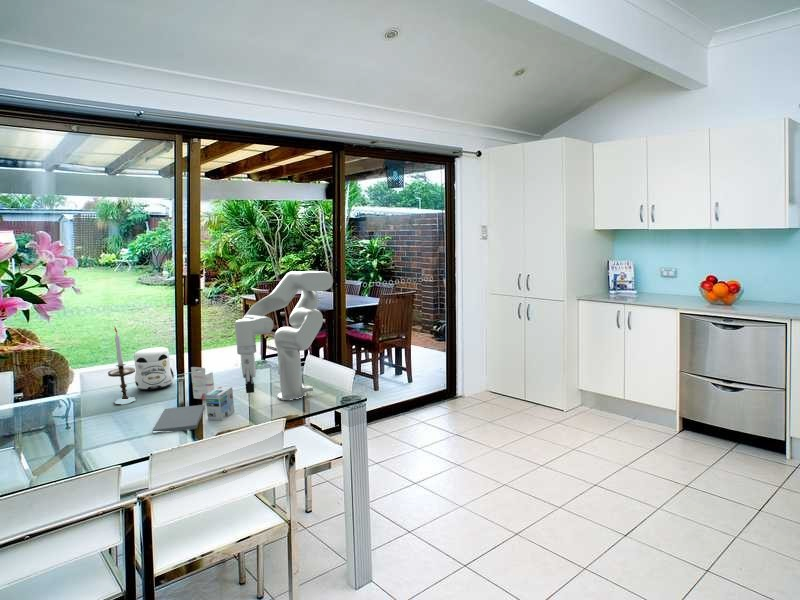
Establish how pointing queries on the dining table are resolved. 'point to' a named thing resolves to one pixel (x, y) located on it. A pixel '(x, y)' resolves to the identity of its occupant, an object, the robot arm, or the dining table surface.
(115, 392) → the dining table surface
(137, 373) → the milk container
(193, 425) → the mat
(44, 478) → the dining table surface
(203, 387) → the ink cartridge box
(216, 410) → the light bulb box
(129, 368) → the candlestick
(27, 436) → the dining table surface
